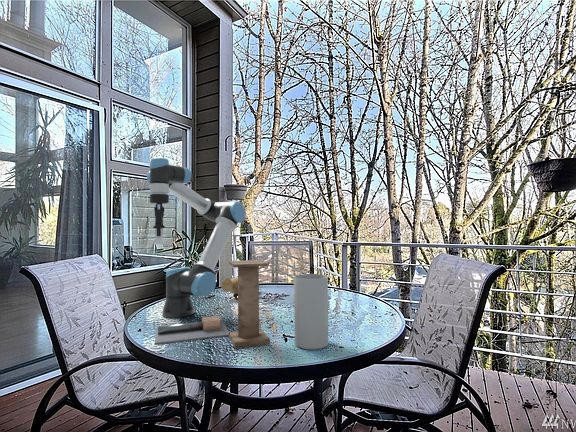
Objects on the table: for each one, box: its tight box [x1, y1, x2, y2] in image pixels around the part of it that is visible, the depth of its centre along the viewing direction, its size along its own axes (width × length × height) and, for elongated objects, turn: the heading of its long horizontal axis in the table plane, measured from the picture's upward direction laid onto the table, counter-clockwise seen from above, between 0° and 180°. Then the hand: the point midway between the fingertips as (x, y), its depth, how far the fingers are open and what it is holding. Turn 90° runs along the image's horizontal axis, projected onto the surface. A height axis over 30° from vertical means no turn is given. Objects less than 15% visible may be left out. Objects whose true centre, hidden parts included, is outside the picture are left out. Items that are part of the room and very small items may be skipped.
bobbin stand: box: [228, 259, 271, 349], centre depth 129 cm, size 13×13×30 cm
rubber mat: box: [154, 319, 230, 345], centre depth 140 cm, size 22×28×1 cm
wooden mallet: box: [158, 315, 221, 334], centre depth 140 cm, size 24×7×4 cm, turn 109°
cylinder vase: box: [293, 273, 329, 351], centre depth 124 cm, size 12×12×25 cm
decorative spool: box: [220, 277, 238, 298], centre depth 208 cm, size 10×12×30 cm
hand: (159, 243), depth 144 cm, fingers open, 13 cm apart
